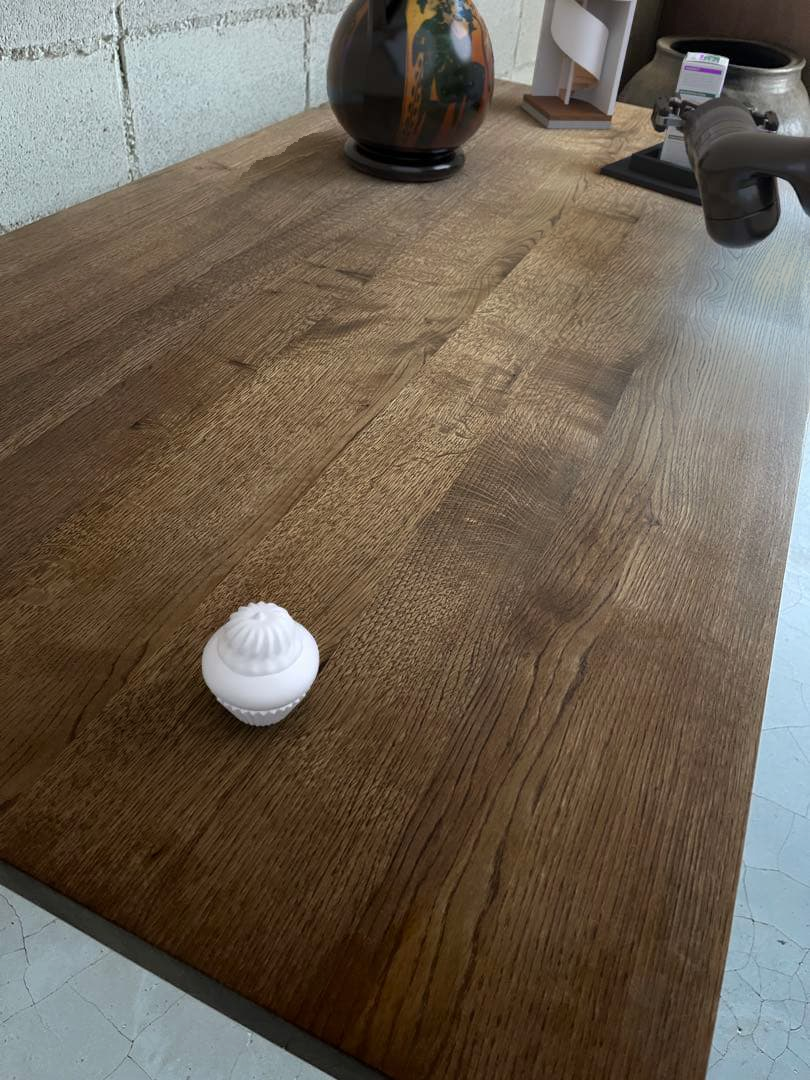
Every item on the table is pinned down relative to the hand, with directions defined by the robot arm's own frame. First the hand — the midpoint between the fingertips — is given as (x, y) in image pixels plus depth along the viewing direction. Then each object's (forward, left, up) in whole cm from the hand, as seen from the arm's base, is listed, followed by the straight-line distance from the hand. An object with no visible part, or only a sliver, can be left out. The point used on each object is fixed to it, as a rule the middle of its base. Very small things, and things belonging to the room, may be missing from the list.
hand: (708, 105), depth 114 cm
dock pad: (+5, -9, -12) cm, 16 cm away
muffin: (-22, +97, -12) cm, 101 cm away
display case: (+31, -21, -12) cm, 39 cm away
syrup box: (+5, -8, -11) cm, 15 cm away
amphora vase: (+32, +19, -12) cm, 39 cm away
